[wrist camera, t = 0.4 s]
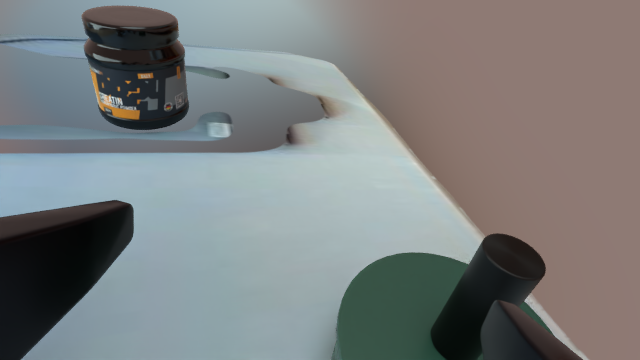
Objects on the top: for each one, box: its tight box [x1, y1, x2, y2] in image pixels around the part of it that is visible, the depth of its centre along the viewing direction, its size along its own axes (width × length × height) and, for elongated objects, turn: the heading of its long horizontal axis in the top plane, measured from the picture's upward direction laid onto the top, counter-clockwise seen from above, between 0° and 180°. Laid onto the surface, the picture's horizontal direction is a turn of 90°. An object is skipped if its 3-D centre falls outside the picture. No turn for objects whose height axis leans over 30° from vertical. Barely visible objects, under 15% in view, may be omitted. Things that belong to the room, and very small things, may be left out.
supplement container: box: [82, 6, 189, 130], centre depth 43 cm, size 10×10×12 cm
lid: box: [336, 234, 554, 360], centre depth 17 cm, size 13×13×8 cm
